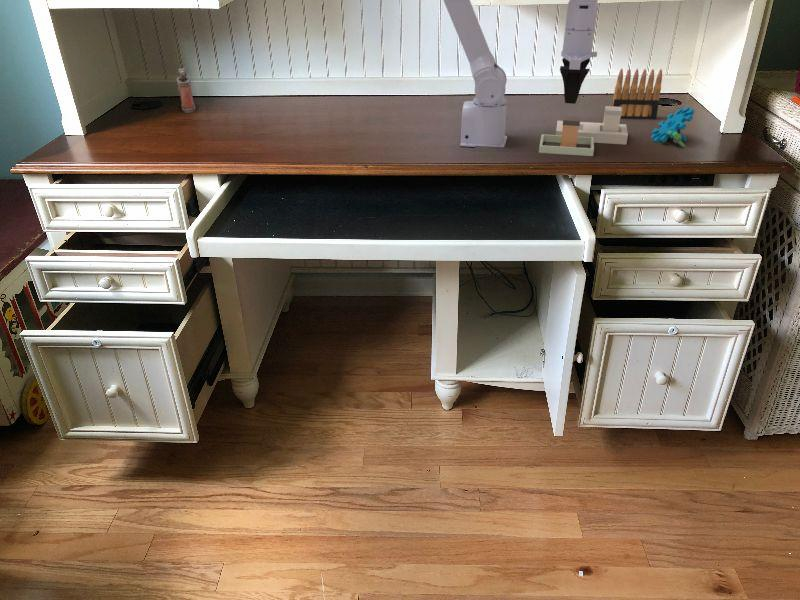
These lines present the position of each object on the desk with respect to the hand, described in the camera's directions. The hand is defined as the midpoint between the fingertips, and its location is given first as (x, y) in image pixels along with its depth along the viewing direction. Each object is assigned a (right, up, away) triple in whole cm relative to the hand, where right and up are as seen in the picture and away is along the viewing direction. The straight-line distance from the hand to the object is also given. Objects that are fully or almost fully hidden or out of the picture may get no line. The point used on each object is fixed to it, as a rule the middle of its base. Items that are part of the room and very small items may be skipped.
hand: (571, 98), depth 134 cm
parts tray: (0, -10, +3) cm, 11 cm away
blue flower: (+23, -8, +6) cm, 25 cm away
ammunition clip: (+20, +1, +21) cm, 29 cm away
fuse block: (+7, -6, +9) cm, 13 cm away
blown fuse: (0, -10, +2) cm, 10 cm away
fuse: (+10, -6, +8) cm, 14 cm away
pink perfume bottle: (-92, +8, +36) cm, 99 cm away
